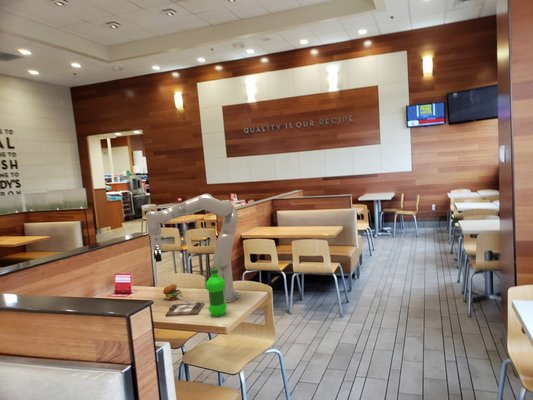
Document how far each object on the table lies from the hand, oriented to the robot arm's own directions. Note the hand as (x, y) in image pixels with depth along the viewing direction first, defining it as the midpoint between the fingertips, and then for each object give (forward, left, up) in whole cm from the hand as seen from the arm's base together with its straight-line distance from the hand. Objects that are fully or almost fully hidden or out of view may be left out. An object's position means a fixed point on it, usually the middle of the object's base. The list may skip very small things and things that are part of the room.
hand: (157, 260), depth 232 cm
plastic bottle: (-38, +20, -28) cm, 51 cm away
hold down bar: (-18, +11, -23) cm, 31 cm away
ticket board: (-17, +11, -28) cm, 34 cm away
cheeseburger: (-2, -12, -28) cm, 31 cm away
